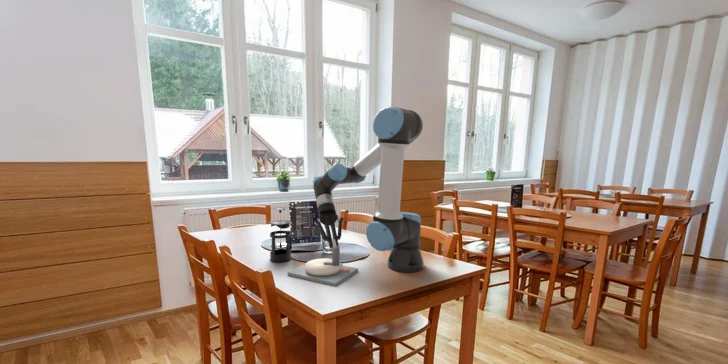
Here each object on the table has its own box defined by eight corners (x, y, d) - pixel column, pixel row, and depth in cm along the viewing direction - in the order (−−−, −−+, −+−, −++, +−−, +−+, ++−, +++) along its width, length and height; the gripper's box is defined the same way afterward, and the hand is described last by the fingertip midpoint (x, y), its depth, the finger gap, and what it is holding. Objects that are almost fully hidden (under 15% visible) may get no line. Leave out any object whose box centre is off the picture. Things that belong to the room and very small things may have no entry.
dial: (343, 274, 125) (344, 251, 125) (306, 276, 122) (306, 253, 121) (338, 262, 139) (338, 241, 138) (304, 264, 136) (304, 242, 135)
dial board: (358, 270, 134) (358, 265, 134) (335, 286, 118) (335, 280, 118) (313, 262, 144) (313, 257, 143) (287, 275, 128) (287, 269, 128)
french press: (280, 264, 140) (279, 211, 138) (264, 260, 144) (263, 209, 142) (298, 257, 150) (298, 207, 148) (282, 253, 155) (282, 205, 152)
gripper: (338, 210, 151) (349, 257, 137) (310, 212, 146) (318, 260, 133) (341, 200, 145) (353, 248, 132) (312, 202, 141) (321, 252, 127)
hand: (335, 254), depth 132 cm, fingers closed
